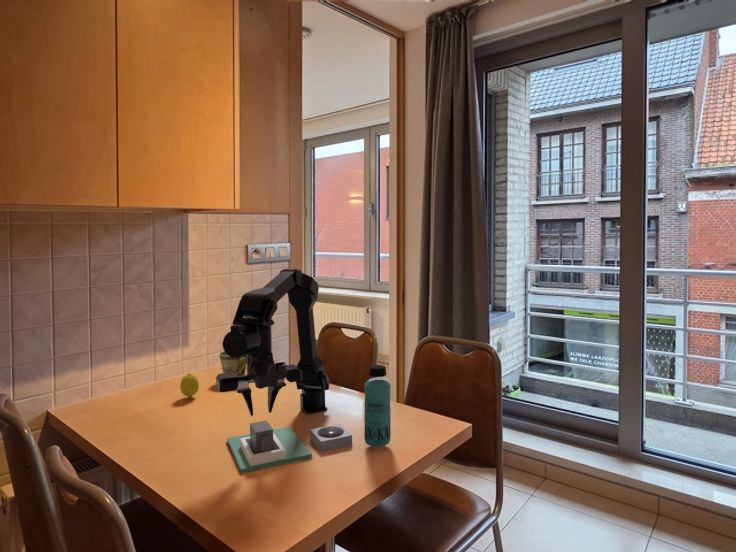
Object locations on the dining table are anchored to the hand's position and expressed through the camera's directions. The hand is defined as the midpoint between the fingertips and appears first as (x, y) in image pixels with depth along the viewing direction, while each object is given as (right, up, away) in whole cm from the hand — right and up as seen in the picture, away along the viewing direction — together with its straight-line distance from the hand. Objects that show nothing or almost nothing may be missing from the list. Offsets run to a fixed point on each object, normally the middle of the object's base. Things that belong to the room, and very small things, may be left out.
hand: (260, 413), depth 109 cm
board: (+1, -10, +4) cm, 10 cm away
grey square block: (+16, -9, +8) cm, 20 cm away
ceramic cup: (-22, -6, +60) cm, 65 cm away
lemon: (-32, -7, +42) cm, 54 cm away
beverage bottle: (+27, -10, +5) cm, 29 cm away
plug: (0, -9, +1) cm, 9 cm away
